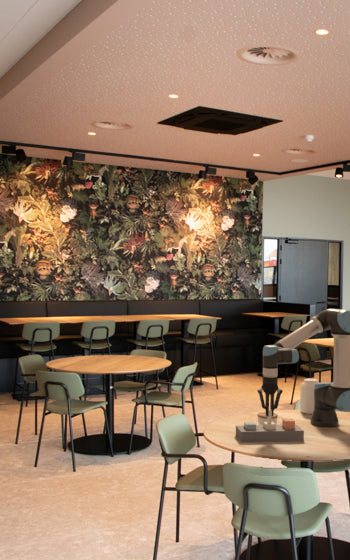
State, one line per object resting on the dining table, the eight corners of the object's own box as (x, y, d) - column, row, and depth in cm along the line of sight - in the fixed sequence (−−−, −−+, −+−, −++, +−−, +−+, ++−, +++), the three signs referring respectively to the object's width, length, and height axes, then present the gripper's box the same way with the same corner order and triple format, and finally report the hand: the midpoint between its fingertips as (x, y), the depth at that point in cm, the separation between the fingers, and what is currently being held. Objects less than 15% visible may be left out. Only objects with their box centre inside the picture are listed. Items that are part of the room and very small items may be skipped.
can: (323, 414, 348) (324, 381, 348) (302, 414, 348) (303, 380, 348) (318, 409, 361) (318, 377, 361) (298, 409, 361) (298, 377, 360)
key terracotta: (291, 428, 300) (291, 418, 300) (294, 431, 295) (295, 421, 295) (282, 428, 299) (282, 418, 299) (285, 431, 294) (285, 421, 294)
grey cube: (253, 431, 298) (253, 422, 298) (256, 434, 293) (256, 424, 293) (244, 431, 297) (244, 422, 297) (246, 434, 292) (246, 424, 292)
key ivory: (272, 431, 299) (272, 421, 299) (275, 434, 294) (275, 424, 294) (263, 431, 298) (263, 421, 298) (265, 434, 293) (266, 424, 293)
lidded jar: (277, 431, 308) (277, 414, 308) (256, 430, 310) (256, 412, 310) (277, 426, 319) (277, 409, 318) (257, 425, 321) (258, 408, 321)
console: (296, 434, 304) (296, 424, 304) (303, 440, 292) (303, 430, 292) (235, 435, 300) (235, 425, 300) (241, 441, 288) (241, 431, 288)
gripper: (280, 374, 300) (279, 420, 300) (255, 374, 299) (254, 420, 299) (284, 377, 293) (284, 424, 293) (259, 377, 291) (258, 424, 291)
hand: (269, 422), depth 296 cm, fingers closed
